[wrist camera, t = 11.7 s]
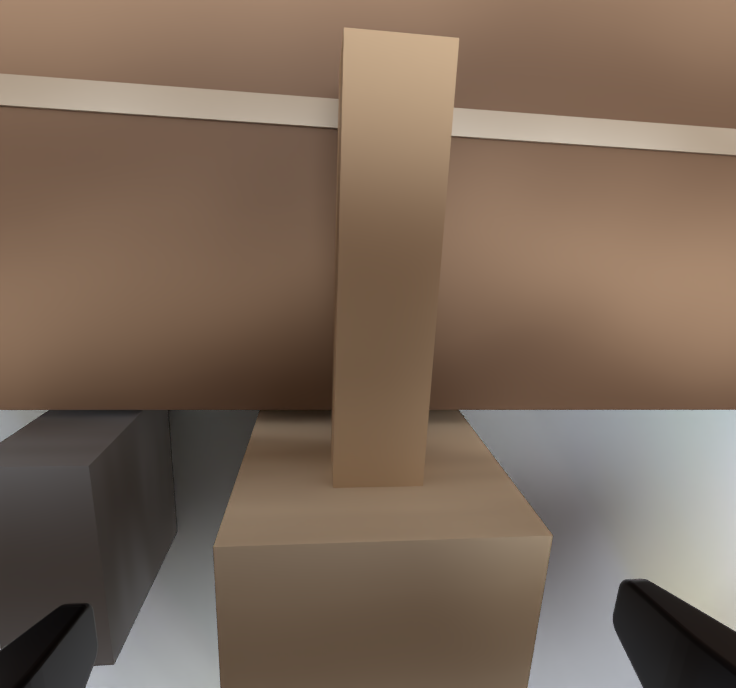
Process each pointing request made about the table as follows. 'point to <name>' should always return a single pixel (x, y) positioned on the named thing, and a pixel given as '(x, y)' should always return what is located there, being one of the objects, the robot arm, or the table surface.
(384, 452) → the marking gauge
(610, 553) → the table surface
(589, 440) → the table surface
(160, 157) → the walnut board
